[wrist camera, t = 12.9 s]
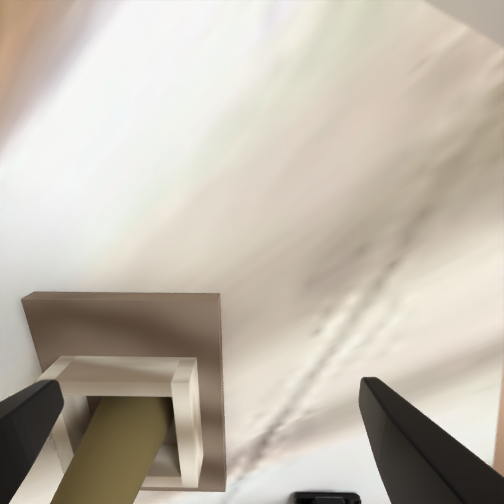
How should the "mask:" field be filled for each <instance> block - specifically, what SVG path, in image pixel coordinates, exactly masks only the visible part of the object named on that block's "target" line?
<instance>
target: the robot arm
mask: <svg viewBox="0 0 504 504" xmlns="http://www.w3.org/2000/svg"><path fill="white" fill-rule="evenodd" d="M63 407H64V398H63V394H62V391H61V388H60V384H59V382H58V381H57V380H55V379H43V380H40V381H38V382H36V383H34V384H32V385H30V386H29V387H27V388H25V389H23V390H21V391H19V392H18V393H16V394H14V395H12V396H10V397H8V398H7V399H5V400H3V401H1V402H0V504H9V502H10V501H11V499H12V498H13V496H14V494H15V493H16V491H17V490H18V488H19V487H20V485H21V483H22V482H23V480H24V479H25V477H26V475H27V474H28V472H29V471H30V469H31V467H32V465H33V464H34V462H35V460H36V458H37V456H38V455H39V453H40V451H41V449H42V447H43V445H44V443H45V442H46V440H47V438H48V436H49V434H50V432H51V430H52V428H53V427H54V425H55V423H56V421H57V419H58V417H59V415H60V413H61V412H62V409H63ZM359 408H360V411H361V415H362V418H363V421H364V425H365V428H366V432H367V435H368V438H369V442H370V445H371V448H372V452H373V455H374V459H375V462H376V465H377V468H378V471H379V473H380V476H381V479H382V481H383V484H384V486H385V489H386V491H387V494H388V496H389V499H390V501H391V504H504V477H503V476H502V475H500V474H499V473H498V472H496V471H495V470H494V469H493V468H491V467H490V466H489V465H488V464H486V463H485V462H484V461H483V460H481V459H480V458H479V457H478V456H476V455H475V454H474V453H472V452H471V451H470V450H469V449H467V448H466V447H465V446H464V445H462V444H461V443H460V442H458V441H457V440H456V439H455V438H453V437H452V436H451V435H450V434H448V433H447V432H446V431H445V430H443V429H442V428H441V427H439V426H438V425H437V424H436V423H434V422H433V421H432V420H431V419H429V418H428V417H427V416H425V415H424V414H423V413H422V412H420V411H419V410H418V409H417V408H415V407H414V406H413V405H411V404H410V403H409V402H408V401H406V400H405V399H404V398H403V397H401V396H400V395H399V394H398V393H396V392H395V391H394V390H392V389H391V388H390V387H389V386H387V385H386V384H385V383H384V382H382V381H381V380H380V379H378V378H377V377H363V378H362V379H361V383H360V391H359ZM294 504H361V499H360V496H359V495H357V494H314V493H298V494H296V495H295V497H294Z"/></svg>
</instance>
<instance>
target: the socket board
mask: <svg viewBox="0 0 504 504" xmlns="http://www.w3.org/2000/svg"><path fill="white" fill-rule="evenodd" d="M21 301H22V304H23V308H24V311H25V314H26V318H27V321H28V325H29V328H30V331H31V335H32V338H33V341H34V345H35V348H36V352H37V355H38V358H39V362H40V365H41V369H42V372H43V374H42V375H41V376H40V377H39V378H38V379H37V380H36V381H35V382H38V381H40V380H43V379H55V380H57V381H58V382H59V384H60V388H61V391H62V394H63V398H64V407H63V409H62V412H61V413H60V415H59V417H58V419H57V421H56V423H55V425H54V427H53V428H52V430H51V434H52V437H53V440H54V444H55V447H56V450H57V453H58V457H59V460H60V463H61V466H62V469H63V473H64V474H65V472H66V470H67V468H68V466H69V464H70V462H71V460H72V458H73V456H74V454H75V452H76V450H77V448H78V446H79V444H80V442H81V440H82V438H83V436H84V434H85V432H86V429H87V427H88V425H89V423H90V421H91V419H92V417H93V415H94V413H95V411H96V409H97V407H98V405H99V403H100V401H101V399H102V397H103V396H152V397H170V399H171V401H172V403H173V407H174V419H173V421H172V424H171V426H170V428H169V430H168V432H167V434H166V436H165V438H164V440H163V442H162V444H161V446H160V449H159V451H158V453H157V455H156V457H155V459H154V461H153V463H152V465H151V467H150V469H149V471H148V473H147V476H146V478H145V480H144V482H143V484H142V486H141V488H140V490H147V491H203V492H225V489H226V479H227V475H226V447H225V419H224V391H223V363H222V335H221V307H220V294H205V293H107V292H33V293H31V294H30V295H28V296H26V297H24V298H23V299H21Z"/></svg>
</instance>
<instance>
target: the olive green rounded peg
mask: <svg viewBox="0 0 504 504" xmlns="http://www.w3.org/2000/svg"><path fill="white" fill-rule="evenodd" d="M173 419H174V407H173V403H172V401H171V399H170V397H152V396H103V397H102V399H101V401H100V403H99V405H98V407H97V409H96V411H95V413H94V415H93V417H92V419H91V421H90V423H89V425H88V427H87V429H86V432H85V434H84V436H83V438H82V440H81V442H80V444H79V446H78V448H77V450H76V452H75V454H74V456H73V458H72V460H71V462H70V464H69V466H68V468H67V470H66V472H65V474H64V476H63V479H62V481H61V483H60V485H59V487H58V489H57V491H56V493H55V495H54V497H53V499H52V501H51V503H50V504H133V502H134V500H135V498H136V496H137V494H138V492H139V490H140V488H141V486H142V484H143V482H144V480H145V478H146V476H147V473H148V471H149V469H150V467H151V465H152V463H153V461H154V459H155V457H156V455H157V453H158V451H159V449H160V446H161V444H162V442H163V440H164V438H165V436H166V434H167V432H168V430H169V428H170V426H171V424H172V421H173Z"/></svg>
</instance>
